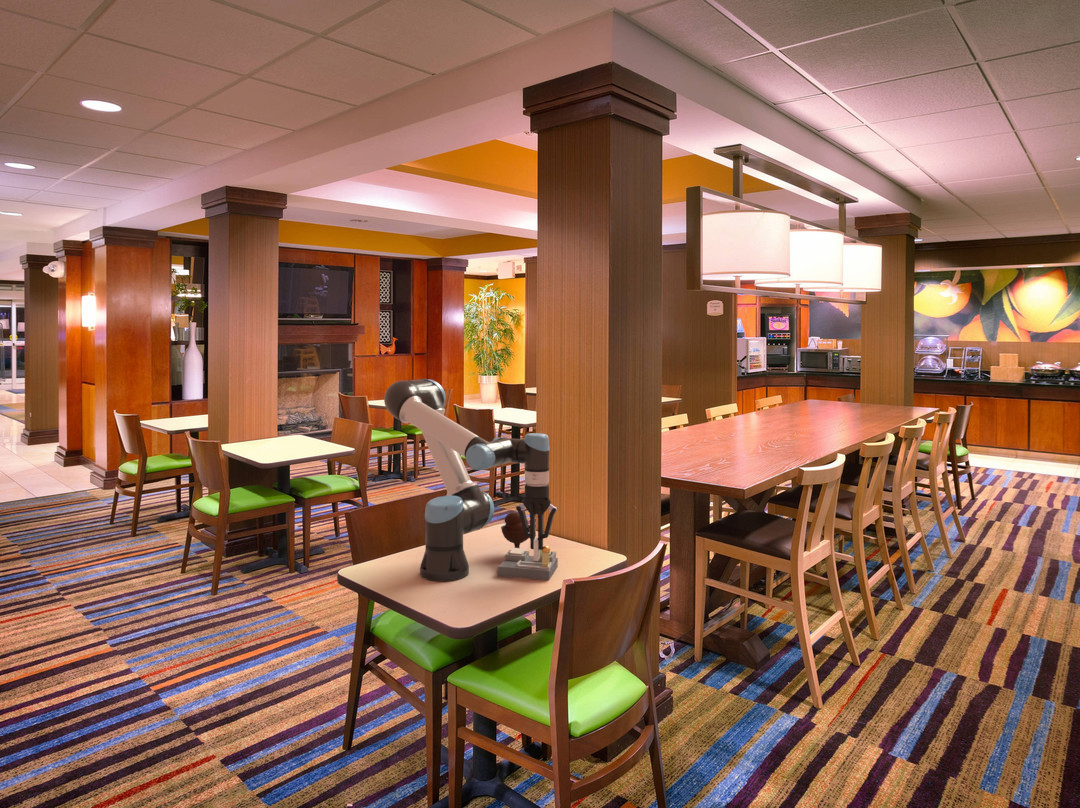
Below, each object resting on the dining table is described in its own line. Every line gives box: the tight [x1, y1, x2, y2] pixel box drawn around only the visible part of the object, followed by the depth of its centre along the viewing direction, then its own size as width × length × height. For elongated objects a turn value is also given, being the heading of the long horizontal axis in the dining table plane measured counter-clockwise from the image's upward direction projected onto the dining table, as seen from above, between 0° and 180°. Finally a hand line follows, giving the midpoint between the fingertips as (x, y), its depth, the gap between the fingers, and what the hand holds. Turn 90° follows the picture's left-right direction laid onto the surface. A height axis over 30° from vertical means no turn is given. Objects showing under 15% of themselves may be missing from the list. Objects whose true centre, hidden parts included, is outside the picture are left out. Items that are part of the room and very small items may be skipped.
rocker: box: [510, 547, 525, 555], centre depth 221 cm, size 4×3×1 cm
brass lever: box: [542, 545, 551, 567], centre depth 213 cm, size 3×3×6 cm
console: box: [497, 549, 559, 581], centre depth 217 cm, size 16×13×5 cm
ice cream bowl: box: [500, 511, 530, 548], centre depth 234 cm, size 11×11×15 cm
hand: (536, 559), depth 213 cm, fingers closed
